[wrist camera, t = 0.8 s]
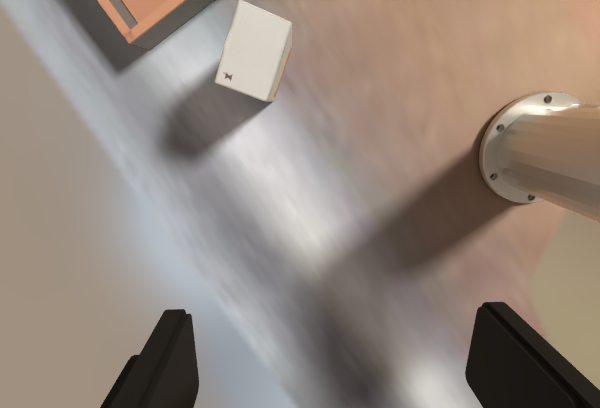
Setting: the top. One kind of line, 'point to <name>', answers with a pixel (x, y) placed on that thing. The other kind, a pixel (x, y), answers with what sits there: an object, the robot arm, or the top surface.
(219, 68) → the skincare box
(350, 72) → the top surface
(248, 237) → the top surface
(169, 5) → the box
